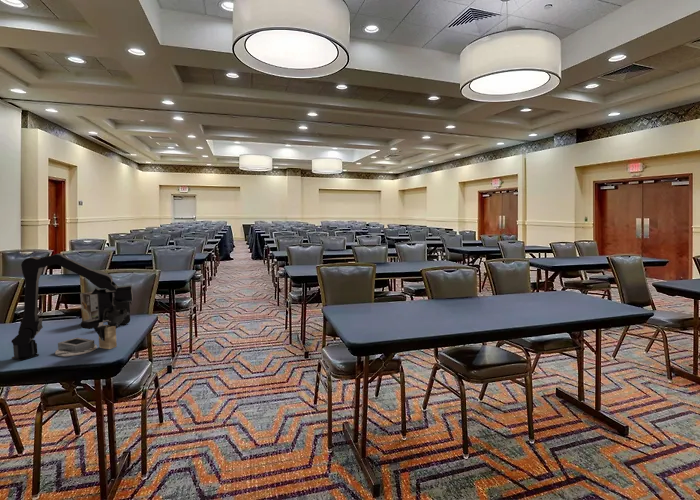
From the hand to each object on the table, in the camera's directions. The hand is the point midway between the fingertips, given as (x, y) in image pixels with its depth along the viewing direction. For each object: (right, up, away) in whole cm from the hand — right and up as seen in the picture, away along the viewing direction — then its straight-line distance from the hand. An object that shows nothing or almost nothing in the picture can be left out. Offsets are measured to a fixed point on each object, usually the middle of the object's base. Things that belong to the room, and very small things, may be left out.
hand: (107, 339), depth 173 cm
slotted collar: (-11, -4, -4) cm, 12 cm away
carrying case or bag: (-14, -1, +36) cm, 38 cm away
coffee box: (-31, 0, +39) cm, 50 cm away
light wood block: (0, -3, 0) cm, 3 cm away
